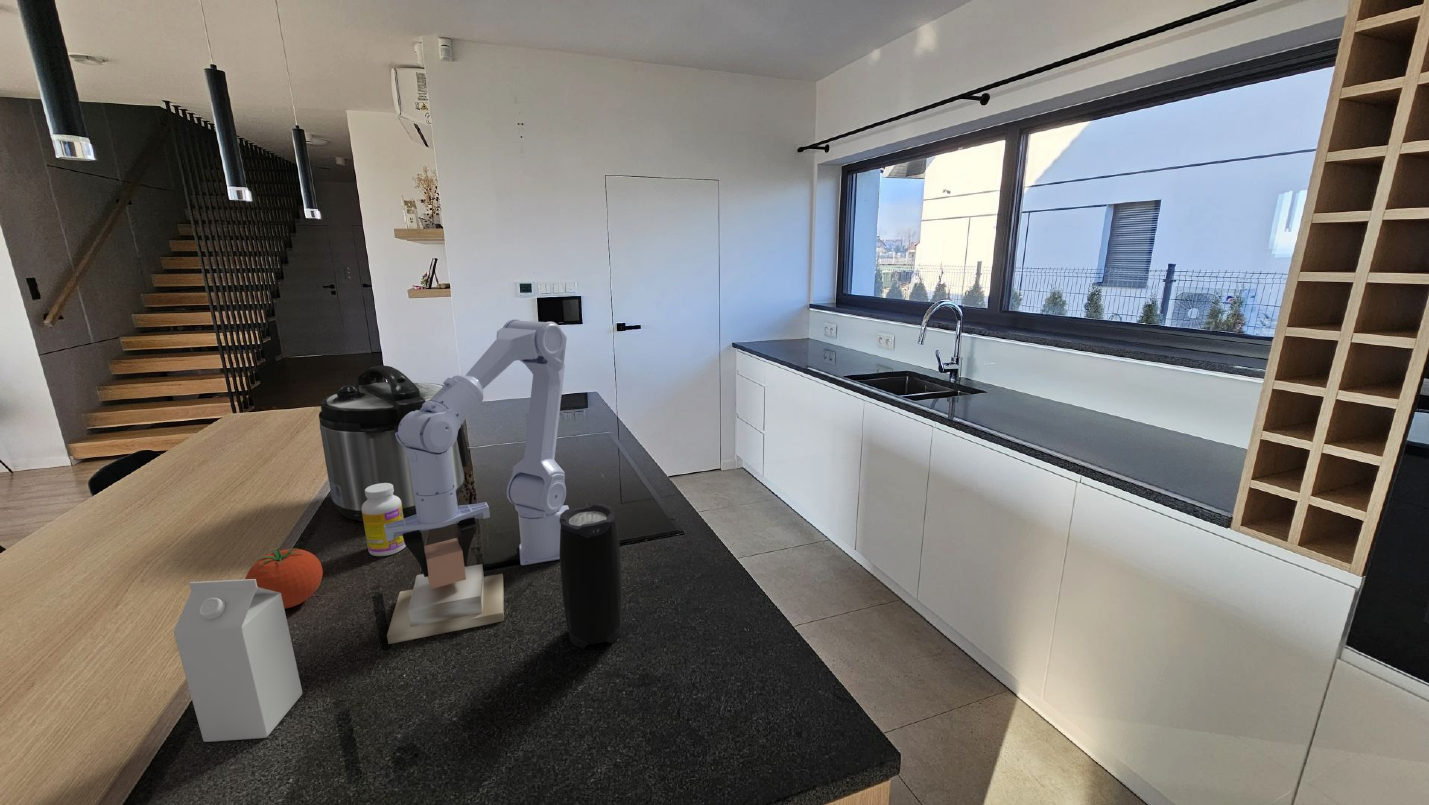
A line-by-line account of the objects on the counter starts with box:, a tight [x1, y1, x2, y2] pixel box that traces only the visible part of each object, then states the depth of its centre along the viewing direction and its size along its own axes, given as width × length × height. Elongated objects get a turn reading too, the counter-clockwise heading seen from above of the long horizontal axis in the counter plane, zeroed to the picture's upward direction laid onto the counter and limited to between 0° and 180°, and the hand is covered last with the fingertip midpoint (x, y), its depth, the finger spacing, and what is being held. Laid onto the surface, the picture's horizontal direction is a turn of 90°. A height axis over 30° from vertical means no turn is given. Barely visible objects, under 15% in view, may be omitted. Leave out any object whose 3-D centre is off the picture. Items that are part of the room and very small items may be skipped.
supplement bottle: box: [362, 483, 406, 557], centre depth 111 cm, size 7×7×13 cm
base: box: [386, 563, 505, 645], centre depth 92 cm, size 16×12×4 cm
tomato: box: [244, 547, 324, 610], centre depth 93 cm, size 10×10×10 cm
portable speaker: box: [559, 502, 623, 650], centre depth 84 cm, size 9×9×20 cm
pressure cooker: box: [318, 365, 470, 522], centre depth 131 cm, size 30×28×32 cm
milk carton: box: [173, 578, 303, 743], centre depth 69 cm, size 7×7×19 cm
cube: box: [424, 537, 466, 589], centre depth 91 cm, size 5×5×5 cm
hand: (445, 568), depth 91 cm, fingers closed on cube, 5 cm apart
